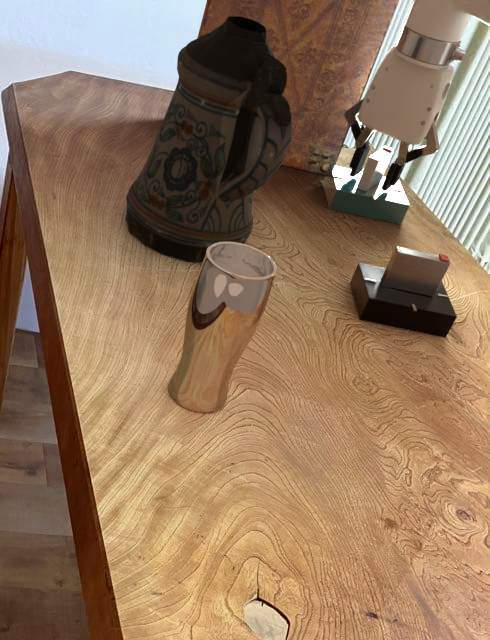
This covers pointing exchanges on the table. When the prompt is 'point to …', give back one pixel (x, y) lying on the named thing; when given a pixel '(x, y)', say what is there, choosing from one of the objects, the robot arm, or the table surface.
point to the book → (316, 63)
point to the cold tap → (375, 168)
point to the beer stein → (213, 144)
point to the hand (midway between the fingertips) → (370, 180)
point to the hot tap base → (400, 304)
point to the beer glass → (220, 322)
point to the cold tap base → (364, 196)
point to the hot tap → (415, 271)
